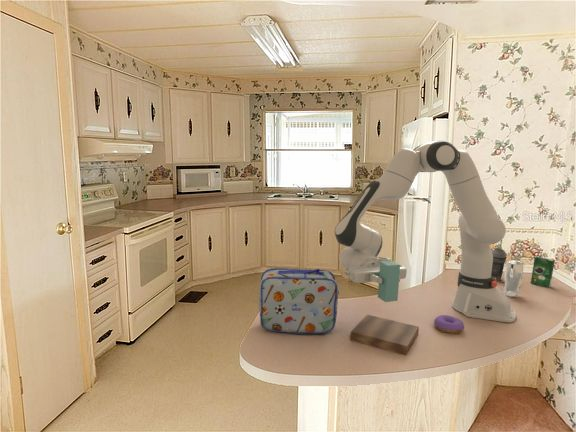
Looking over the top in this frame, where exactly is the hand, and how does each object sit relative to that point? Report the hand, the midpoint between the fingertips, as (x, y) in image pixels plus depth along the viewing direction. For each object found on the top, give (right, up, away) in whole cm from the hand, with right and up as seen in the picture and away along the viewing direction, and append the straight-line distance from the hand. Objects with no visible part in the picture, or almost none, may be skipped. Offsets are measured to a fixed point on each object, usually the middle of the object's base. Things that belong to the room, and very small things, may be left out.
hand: (390, 280), depth 129 cm
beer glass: (+64, -14, +47) cm, 81 cm away
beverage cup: (+69, -11, +68) cm, 98 cm away
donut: (+23, -19, +12) cm, 33 cm away
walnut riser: (-1, -19, +4) cm, 20 cm away
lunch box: (-29, -18, +9) cm, 36 cm away
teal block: (-1, -6, +2) cm, 7 cm away
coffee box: (+87, -12, +62) cm, 107 cm away
